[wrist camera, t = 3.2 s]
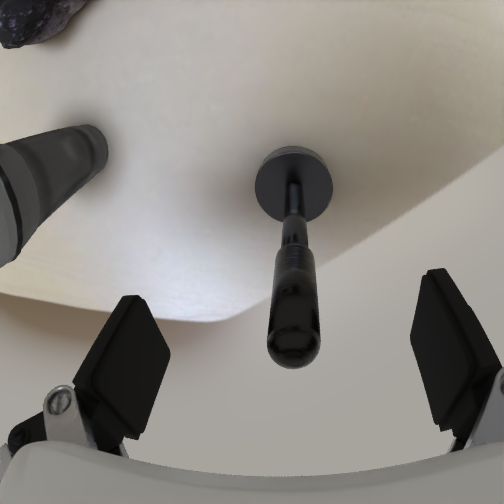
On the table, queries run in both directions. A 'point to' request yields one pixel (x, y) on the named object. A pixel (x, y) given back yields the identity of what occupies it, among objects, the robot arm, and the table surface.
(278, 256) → the disc-capped black rod
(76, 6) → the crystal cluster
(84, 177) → the beverage cup
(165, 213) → the table surface
